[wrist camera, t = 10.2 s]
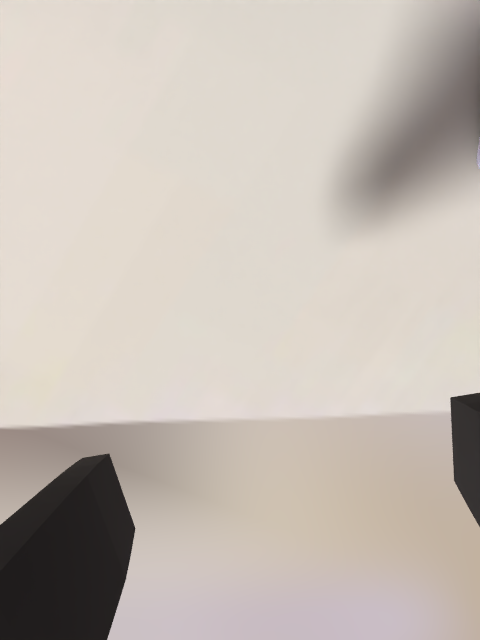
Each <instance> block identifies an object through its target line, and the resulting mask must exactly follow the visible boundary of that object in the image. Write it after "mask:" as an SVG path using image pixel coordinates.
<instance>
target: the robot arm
mask: <svg viewBox="0 0 480 640" xmlns="http://www.w3.org/2000/svg"><path fill="white" fill-rule="evenodd" d="M477 165H478V167H479V169H480V139H479V146H478V153H477ZM450 399H451V421H452V442H453V465H454V481H455V483H456V485H457V487H458V489H459V491H460V492H461V494H462V496H463V498H464V500H465V502H466V503H467V505H468V507H469V509H470V511H471V512H472V514H473V516H474V518H475V519H476V521H477V523H478V525H479V526H480V393H475V394H469V395H463V396H457V397H451V398H450ZM134 533H135V526H134V523H133V520H132V518H131V515H130V512H129V509H128V506H127V503H126V500H125V498H124V495H123V492H122V489H121V486H120V483H119V480H118V477H117V475H116V472H115V469H114V466H113V463H112V460H111V458H110V455H109V454H104V455H98V456H92V457H86V458H82V459H81V460H79V461H77V462H76V463H75V464H74V465H72V466H71V467H69V468H68V469H67V470H65V472H63V473H62V474H60V475H59V476H58V477H57V478H56V479H54V480H53V481H52V482H51V483H50V484H48V485H47V486H46V487H45V488H44V489H42V490H41V491H40V492H39V493H38V494H37V495H35V496H34V497H33V498H32V499H31V500H29V501H28V502H27V503H26V504H25V505H23V506H22V507H21V508H20V509H19V510H18V511H16V512H15V513H14V514H13V515H12V516H11V517H9V518H8V519H7V520H6V521H5V522H3V523H2V524H1V525H0V640H107V638H108V635H109V632H110V628H111V625H112V622H113V619H114V616H115V613H116V609H117V606H118V603H119V600H120V596H121V593H122V589H123V587H124V583H125V580H126V575H127V570H128V566H129V560H130V556H131V550H132V544H133V538H134Z"/></svg>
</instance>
